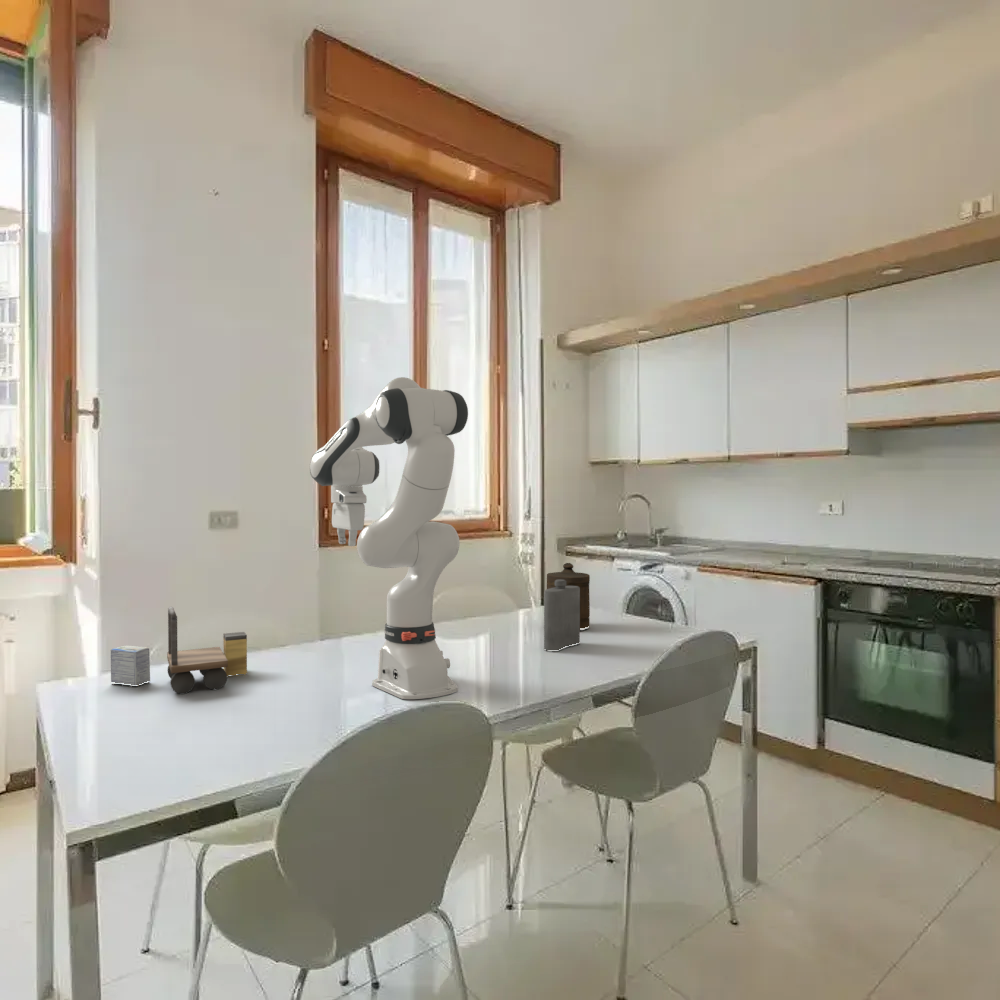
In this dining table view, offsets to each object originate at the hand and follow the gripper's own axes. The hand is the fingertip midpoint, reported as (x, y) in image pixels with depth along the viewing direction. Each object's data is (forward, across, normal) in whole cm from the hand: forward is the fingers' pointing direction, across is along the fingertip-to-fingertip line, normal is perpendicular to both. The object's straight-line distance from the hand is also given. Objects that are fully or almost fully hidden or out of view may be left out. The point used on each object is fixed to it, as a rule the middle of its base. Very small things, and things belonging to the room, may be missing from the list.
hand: (347, 545), depth 198 cm
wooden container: (+31, 0, +76) cm, 82 cm away
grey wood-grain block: (+31, +6, -55) cm, 63 cm away
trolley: (+31, +14, -41) cm, 53 cm away
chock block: (+31, +8, -31) cm, 45 cm away
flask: (+31, +23, +58) cm, 70 cm away
